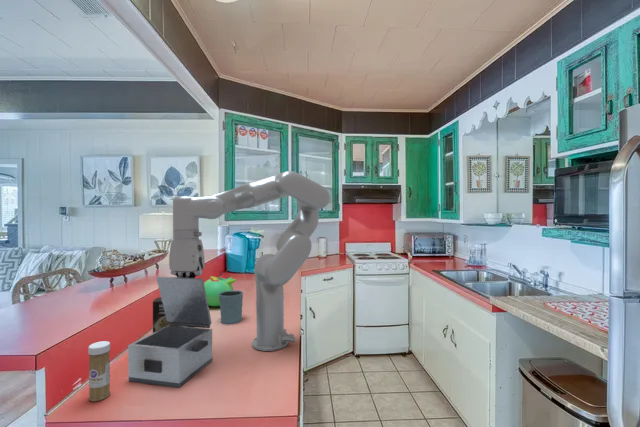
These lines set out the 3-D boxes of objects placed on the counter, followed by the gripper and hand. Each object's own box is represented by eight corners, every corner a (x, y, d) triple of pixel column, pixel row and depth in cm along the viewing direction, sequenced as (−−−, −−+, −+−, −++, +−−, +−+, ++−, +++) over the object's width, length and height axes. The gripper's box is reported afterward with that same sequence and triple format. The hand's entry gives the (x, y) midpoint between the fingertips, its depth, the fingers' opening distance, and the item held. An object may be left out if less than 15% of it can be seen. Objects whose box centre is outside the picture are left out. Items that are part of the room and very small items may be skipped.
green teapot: (198, 302, 168) (198, 274, 168) (232, 299, 175) (231, 271, 175) (202, 312, 151) (201, 281, 151) (238, 307, 158) (238, 277, 158)
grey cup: (228, 326, 132) (228, 297, 132) (214, 321, 139) (213, 293, 139) (248, 319, 141) (247, 292, 140) (233, 315, 147) (233, 288, 147)
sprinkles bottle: (85, 403, 79) (84, 348, 79) (94, 393, 84) (93, 341, 84) (105, 401, 80) (105, 346, 80) (113, 391, 85) (113, 339, 85)
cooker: (218, 361, 101) (217, 329, 101) (184, 389, 85) (184, 351, 85) (162, 355, 106) (162, 324, 106) (121, 381, 90) (121, 345, 90)
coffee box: (152, 348, 111) (151, 301, 111) (156, 341, 117) (155, 297, 117) (180, 345, 114) (180, 299, 114) (183, 338, 120) (182, 295, 120)
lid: (210, 329, 101) (213, 326, 103) (201, 280, 96) (204, 277, 98) (167, 325, 105) (170, 322, 106) (155, 278, 100) (159, 275, 101)
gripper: (213, 234, 104) (214, 292, 104) (173, 234, 108) (174, 289, 108) (199, 236, 97) (200, 298, 97) (157, 236, 100) (157, 295, 100)
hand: (186, 293), depth 102 cm, fingers closed
